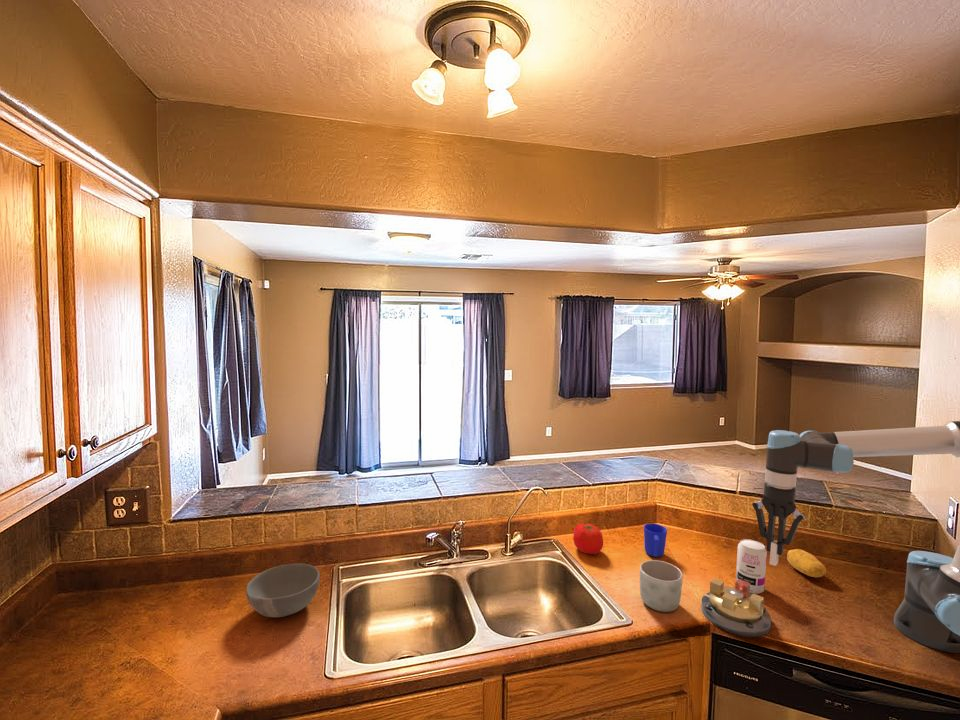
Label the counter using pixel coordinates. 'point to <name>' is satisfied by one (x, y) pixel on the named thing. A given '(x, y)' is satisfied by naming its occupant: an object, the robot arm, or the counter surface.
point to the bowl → (283, 589)
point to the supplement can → (752, 564)
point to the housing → (734, 626)
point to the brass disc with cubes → (730, 607)
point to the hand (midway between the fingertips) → (773, 563)
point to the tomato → (588, 538)
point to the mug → (654, 539)
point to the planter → (660, 585)
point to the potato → (806, 563)
